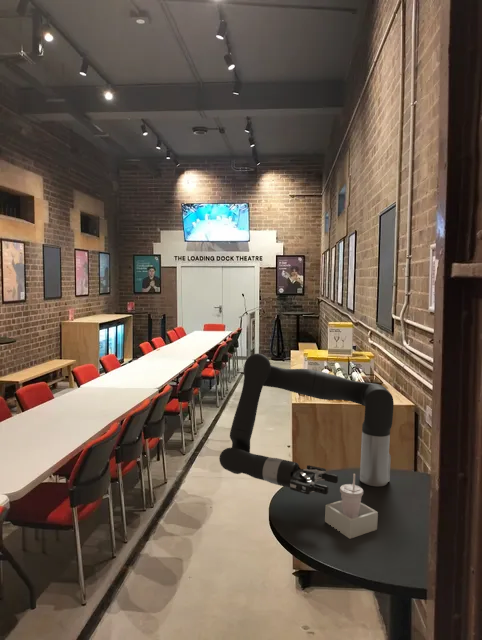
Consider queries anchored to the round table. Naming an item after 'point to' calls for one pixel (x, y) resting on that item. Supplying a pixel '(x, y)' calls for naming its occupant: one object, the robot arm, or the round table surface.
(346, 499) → the smoothie
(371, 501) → the round table surface
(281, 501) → the round table surface
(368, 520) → the box
